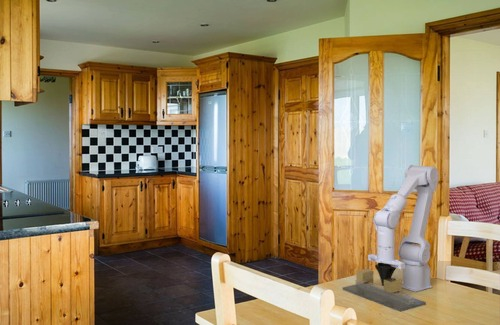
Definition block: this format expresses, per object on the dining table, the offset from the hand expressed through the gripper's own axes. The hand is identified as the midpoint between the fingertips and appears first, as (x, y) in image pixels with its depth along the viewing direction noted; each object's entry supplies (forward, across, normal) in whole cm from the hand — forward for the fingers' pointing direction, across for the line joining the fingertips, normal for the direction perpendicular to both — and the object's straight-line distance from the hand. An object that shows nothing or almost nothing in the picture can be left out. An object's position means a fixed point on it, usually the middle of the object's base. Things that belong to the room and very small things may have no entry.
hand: (385, 285), depth 163 cm
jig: (+4, -1, -1) cm, 4 cm away
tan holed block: (+3, +3, 0) cm, 4 cm away
